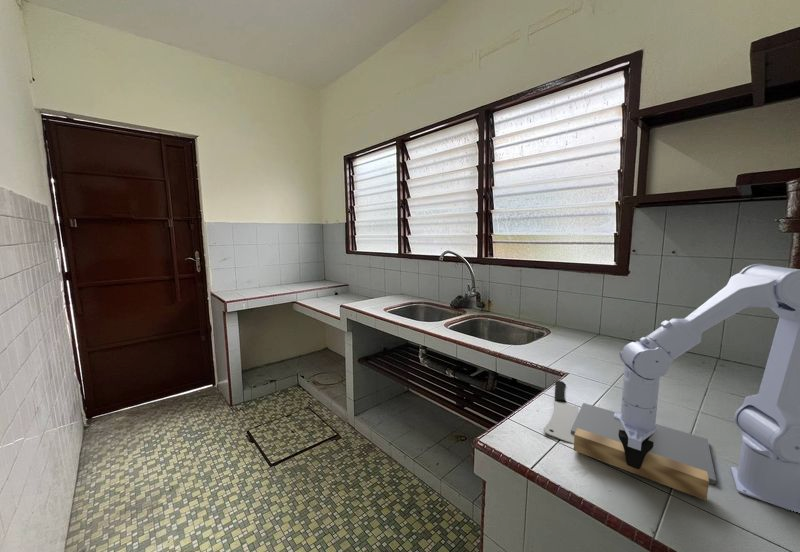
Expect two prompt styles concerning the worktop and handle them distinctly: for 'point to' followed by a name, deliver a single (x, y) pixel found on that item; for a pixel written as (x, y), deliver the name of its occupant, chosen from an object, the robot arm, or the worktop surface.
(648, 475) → the oak beam
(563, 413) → the kitchen cleaver
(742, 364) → the worktop surface
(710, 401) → the worktop surface
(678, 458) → the ridge stand
